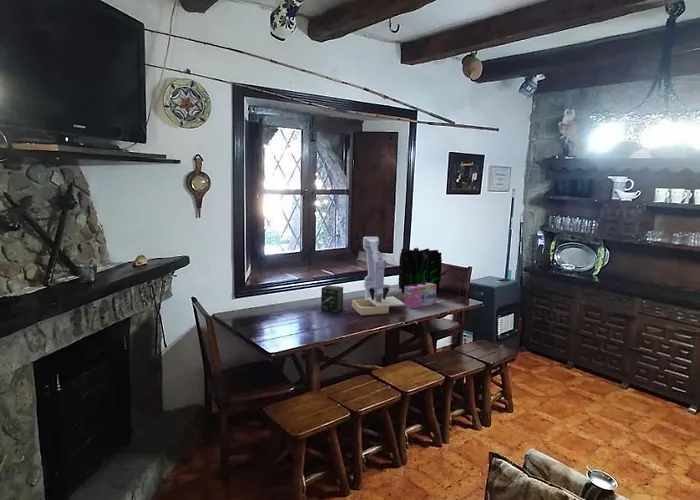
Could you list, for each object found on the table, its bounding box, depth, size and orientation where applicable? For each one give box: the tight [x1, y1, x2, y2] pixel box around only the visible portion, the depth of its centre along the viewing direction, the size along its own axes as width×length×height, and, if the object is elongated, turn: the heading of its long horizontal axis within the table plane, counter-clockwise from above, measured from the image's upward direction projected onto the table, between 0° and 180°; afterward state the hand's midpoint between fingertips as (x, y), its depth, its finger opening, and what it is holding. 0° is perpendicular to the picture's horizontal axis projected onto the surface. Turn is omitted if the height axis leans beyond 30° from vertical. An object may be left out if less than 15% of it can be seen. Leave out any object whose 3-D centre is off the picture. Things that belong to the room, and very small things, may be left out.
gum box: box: [403, 282, 437, 309], centre depth 307 cm, size 24×8×14 cm, turn 127°
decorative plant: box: [398, 247, 443, 294], centre depth 343 cm, size 29×30×30 cm
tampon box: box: [320, 284, 344, 314], centre depth 290 cm, size 11×9×15 cm
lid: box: [368, 294, 405, 307], centre depth 295 cm, size 18×18×5 cm
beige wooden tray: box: [351, 298, 390, 316], centre depth 293 cm, size 18×18×4 cm
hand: (378, 299), depth 294 cm, fingers open, 7 cm apart
